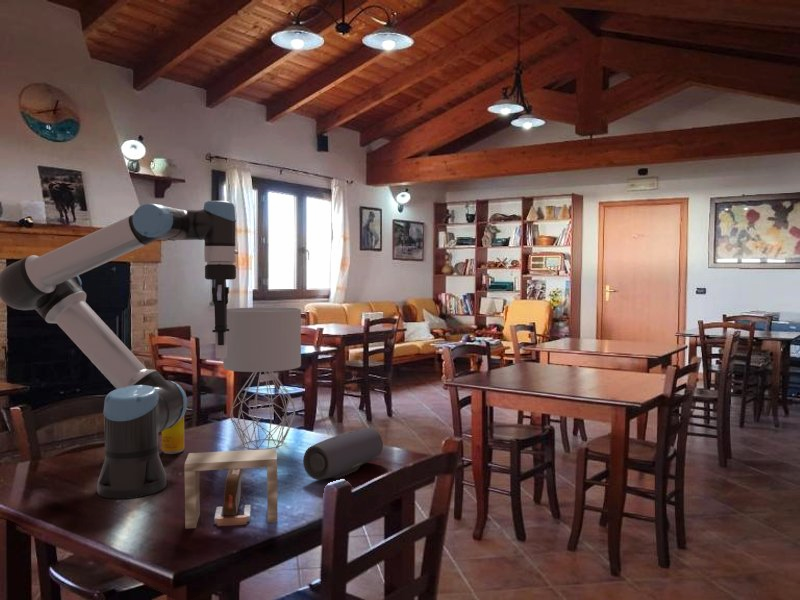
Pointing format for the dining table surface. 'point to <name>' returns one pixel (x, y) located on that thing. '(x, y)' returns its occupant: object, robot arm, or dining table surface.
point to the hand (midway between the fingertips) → (221, 357)
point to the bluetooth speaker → (342, 453)
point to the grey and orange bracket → (232, 517)
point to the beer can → (173, 438)
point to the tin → (232, 492)
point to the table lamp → (263, 353)
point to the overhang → (228, 461)
